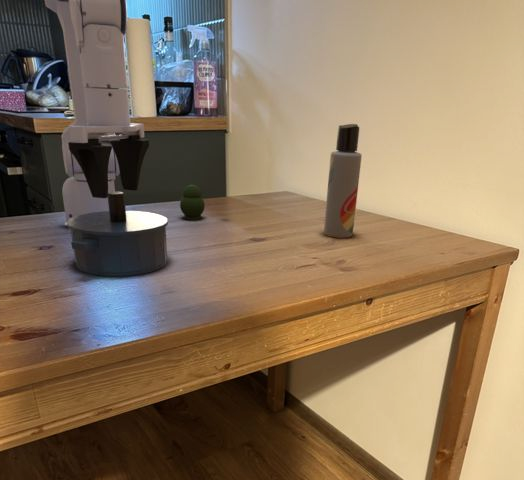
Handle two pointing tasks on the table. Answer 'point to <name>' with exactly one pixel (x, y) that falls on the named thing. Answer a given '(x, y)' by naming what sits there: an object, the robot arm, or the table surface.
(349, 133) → the lotion bottle
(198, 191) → the avocado
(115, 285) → the table surface
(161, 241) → the pot
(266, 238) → the table surface
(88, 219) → the pot lid
